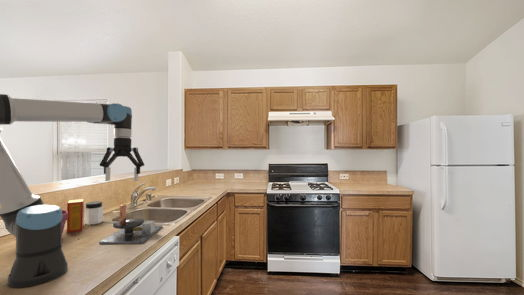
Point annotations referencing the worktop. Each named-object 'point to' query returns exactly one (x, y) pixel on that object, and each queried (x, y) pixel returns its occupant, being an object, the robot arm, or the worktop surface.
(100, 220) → the jar
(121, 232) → the dark grey flat piece
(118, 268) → the worktop surface
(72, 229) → the baking soda box
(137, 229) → the handwheel
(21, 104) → the robot arm
